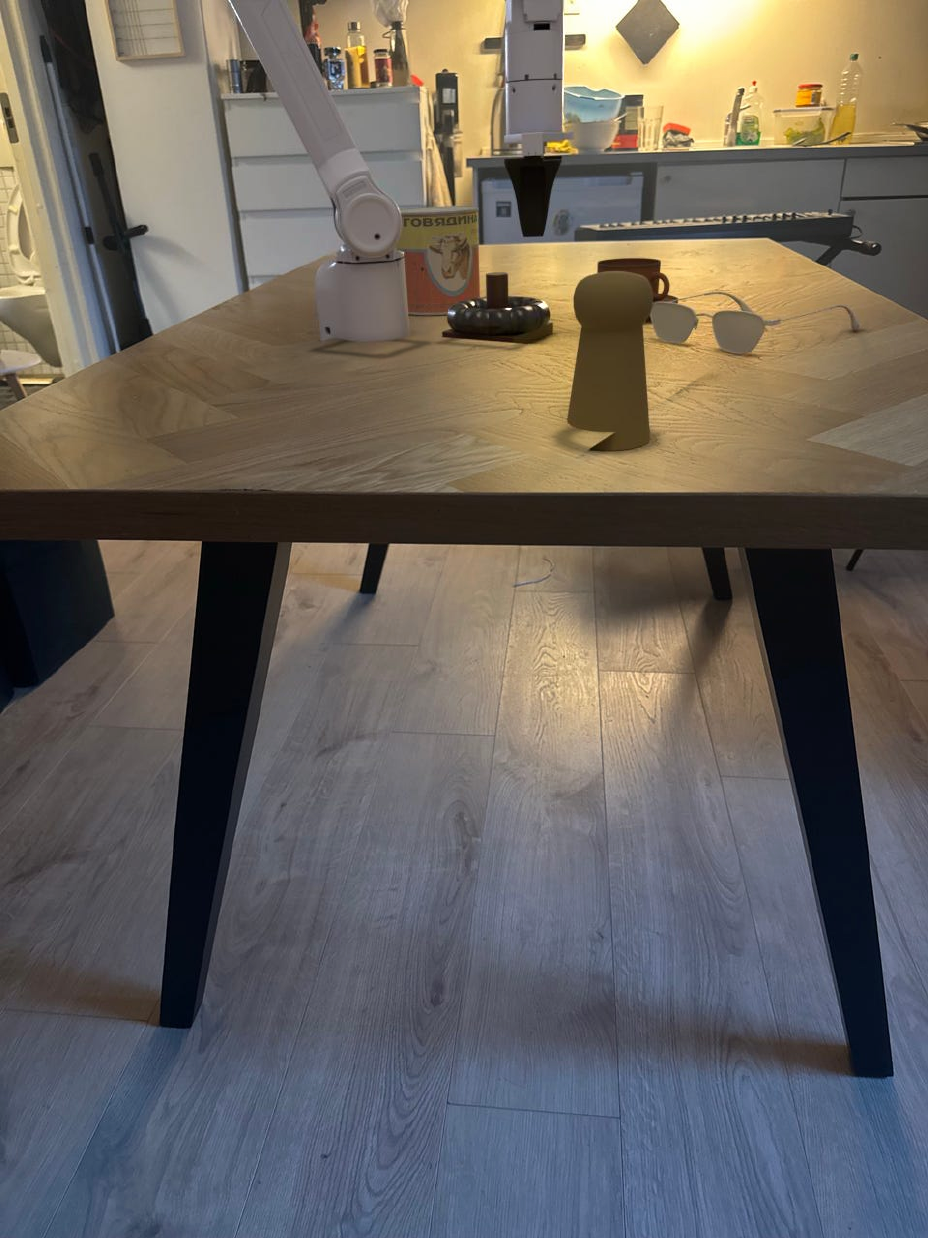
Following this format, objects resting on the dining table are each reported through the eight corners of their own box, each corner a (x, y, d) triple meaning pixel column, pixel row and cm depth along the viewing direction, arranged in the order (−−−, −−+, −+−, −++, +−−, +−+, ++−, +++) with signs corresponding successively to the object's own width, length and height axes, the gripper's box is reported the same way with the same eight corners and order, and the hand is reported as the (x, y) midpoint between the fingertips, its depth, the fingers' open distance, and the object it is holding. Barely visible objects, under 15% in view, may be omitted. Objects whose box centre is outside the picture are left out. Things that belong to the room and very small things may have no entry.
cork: (557, 428, 63) (559, 269, 58) (637, 423, 64) (647, 264, 58) (573, 453, 58) (577, 280, 53) (660, 447, 58) (673, 275, 53)
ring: (428, 333, 92) (427, 308, 91) (478, 316, 101) (478, 292, 99) (521, 339, 87) (521, 313, 86) (566, 320, 95) (566, 296, 94)
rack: (442, 342, 94) (438, 277, 90) (484, 328, 100) (482, 266, 97) (513, 348, 89) (512, 280, 86) (553, 333, 96) (553, 269, 92)
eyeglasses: (641, 338, 91) (643, 299, 89) (743, 315, 101) (747, 279, 99) (766, 359, 80) (771, 314, 78) (867, 330, 90) (875, 290, 88)
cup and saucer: (691, 311, 105) (696, 256, 102) (655, 328, 96) (658, 269, 93) (601, 306, 110) (603, 254, 107) (559, 322, 102) (560, 266, 99)
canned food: (415, 318, 108) (409, 213, 102) (385, 307, 117) (377, 210, 111) (495, 309, 112) (493, 207, 106) (460, 298, 121) (456, 204, 115)
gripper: (576, 74, 77) (573, 238, 84) (574, 84, 90) (571, 226, 96) (498, 78, 78) (501, 240, 84) (507, 88, 91) (509, 228, 97)
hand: (534, 233), depth 90 cm, fingers open, 7 cm apart
